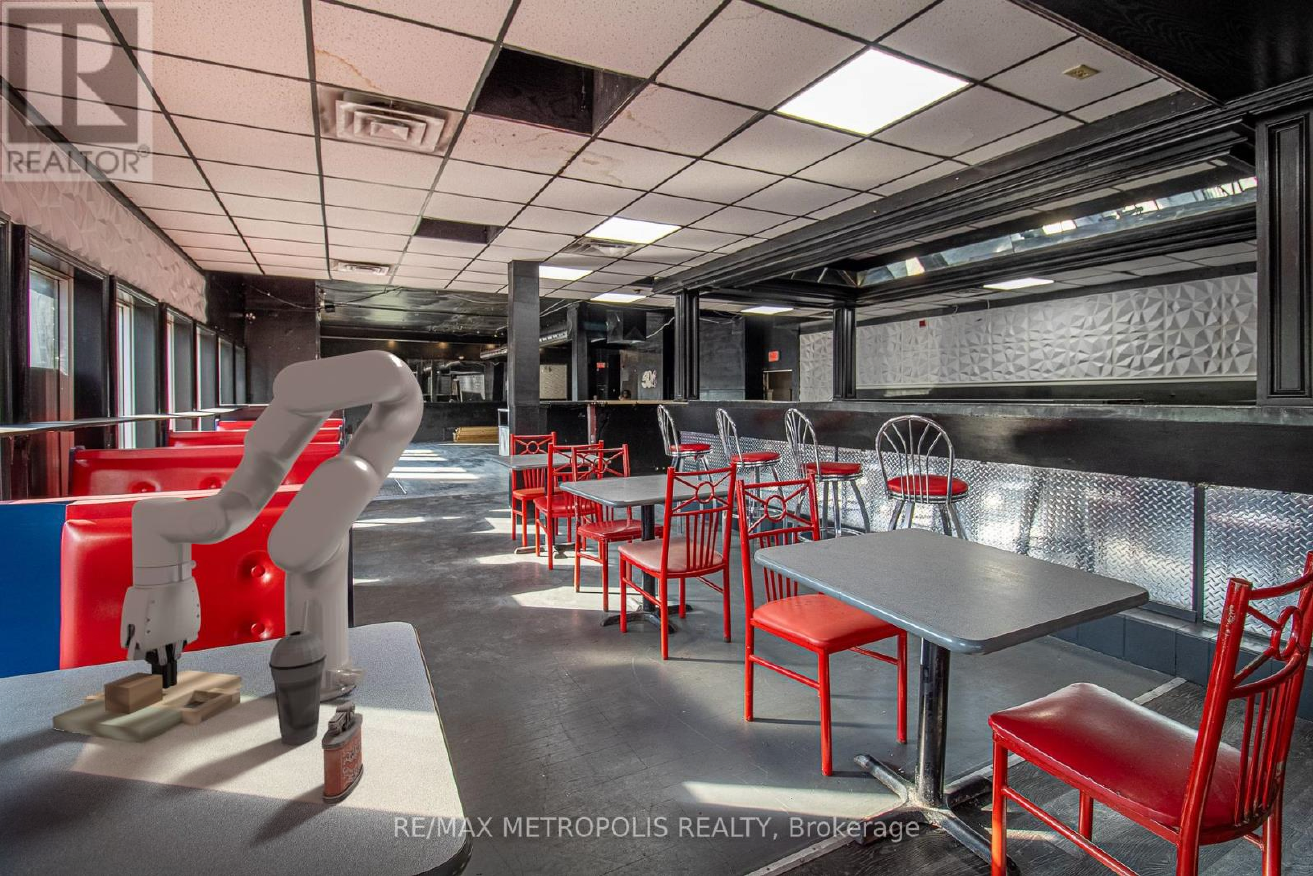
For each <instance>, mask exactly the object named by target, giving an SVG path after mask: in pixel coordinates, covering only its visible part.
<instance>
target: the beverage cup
mask: <svg viewBox="0 0 1313 876" xmlns="http://www.w3.org/2000/svg"><path fill="white" fill-rule="evenodd" d="M307 607H308V601H304V608H303V616H302V625H301V631H294V632H291V633H289V634H287V635H286V634H285V635H283V636H282V637H281V638H280V639H279V640H278V641H277V642H276V643H275V645H274V647H273V649H272V651H271V654H270V660H269V663H268V666H269V668H270V673H271V677H272V680H273V682H274V683H273V684H274V691H275V700H276V708H277V716H278V723H279V733H280V736H281V743H282V744H283V745H284V746H300V745H304V744H306V743H308V742H312V741H313V740H314V739H316V737H317V736H318V728H319V721H320V707H321V701H320V696H321V682H322V671H323V669H324V664H325V657H326V654H325V650H324V646H323V644H322V642H321V640H320V639H319V638H318V637H317V636H316V635H315V634H313V633H311V632H308V631H305V625H306V616H307Z"/></svg>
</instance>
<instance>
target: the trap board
mask: <svg viewBox="0 0 1313 876" xmlns="http://www.w3.org/2000/svg"><path fill="white" fill-rule="evenodd" d="M242 680H243V679H242V675H237V674H227V673H219V672H210V671H209V672H207V671H199V670H191V669H190V670H189V669H185V670H182V671H180V672H177V685H175V686H171V687H170V688H167V689H163V700H162V701H160V702H158V703H155V704H153V705H150V706H148V707H146V708H143V709H141V710H139V711H136V712H134V713H132V714H125V713H118V712H111V711H105V691H104V690H103V691H99V692H97V693H94V694H91V695H88V696H87V697H84V699H83V700H84V702H83V703H84V704H82V705H79V706H76V707H74V708H72V709H70V710H67V711H63V712H62V713H59V714H56V715H54V716H52V727H53V728H56V729H60V730H64V731H68V732H67V733H71V732H75V733H74V734H78V733H81V734H80V735H84V734H85V736H93V737H99V738H105V739H113V740H118V741H125V742H134V743H141V744H143V743H145V742H147V741H149V740H151V739H153V738H156V737H157V736H160V735H162V734H163V733H165V732H168V731H169V730H172V729H174V728H176V727H178V726H180V725H189V726H197V725H199V724H201V723H203V722H204V721H207V720H208V719H211V718H212V717H215V716H217V715H219V714H221V713H222V712H225V711H226V710H229V709H231V708H233V707H234V706H237V705H239V704H241V690H239V689H242V687H243V681H242ZM53 728H52V729H53ZM64 731H63V732H64Z"/></svg>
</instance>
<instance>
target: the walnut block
mask: <svg viewBox="0 0 1313 876" xmlns="http://www.w3.org/2000/svg"><path fill="white" fill-rule="evenodd" d="M103 686H104V687H103V688H104V690H103V691H105V711H111V712H118V713H125V714H132V713H134V712H136V711H139V710H141V709H143V708H146V707H148V706H150V705H153V704H155V703H158V702H160V701H162V700H163V686H162V675H156V674H152V673H146V672H140V671H138V672H135V673H132V674H130V675H126V676H124V677H122V678H119V679H117V680H113V681H111V682H108V683H106V684H104V685H103Z"/></svg>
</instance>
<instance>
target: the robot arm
mask: <svg viewBox="0 0 1313 876" xmlns="http://www.w3.org/2000/svg"><path fill="white" fill-rule="evenodd" d="M272 395H273V399H272V400H271V401H270V402H269V404H268V405H267V406H266V408H265V409H264V410H263V411H262V413H261V414H260V416H259V417H257V419H256V420H255V421H254V422H253V424H252V425H251V426H250V427H249V429H248V430H247V431H246V433H245V435H244V439H243V445H244V452H243V457H242V458H241V461H240V462H239V464H238V466H237V468H236V469H235V470H234V471H233V473H232V475H231V476H230V477H229V479H228V480H227V481H226V482H225V484H224V485H223V486H222V487H221V489H220V490H219V491H218V492H217V493H216V494H213V495H210V496H209V495H208V496H206V497H202V498H197V499H189V500H187V499H186V498H183V497H179V496H178V497H177V496H161V497H151V498H143V499H141V500H138V501H136V502H135V503H134V504H133V505H132V509H131V534H132V536H131V538H132V539H131V540H132V541H131V542H132V545H131V546H132V586H129V587H127V589H126V592H125V596H124V601H123V605H122V611H121V623H120V646H121V648H122V649H124V650H128V651H127V655H126V659H127V660H128V661H134V662H135V661H145V662H146V663H147V664H148V665H151V667H150V668H151V671H150V672H151V674H156V675H162V686H163V689H167V688H170V687H171V686H175V685H177V673H178V661H179V660H180V659H181V658H182V653H183V651H184V649H185V648H186V647H187V645H189V644H191V643H193V642H194V641H196V640H197V639H198V638H199V635H198V632H199V631H200V628H201V620H202V619H201V618H202V617H201V602H200V596H199V590H198V586H197V582H196V579H195V577H194V576H192V572H193V571H192V569H195V568H196V566H197V563H196V560H194V559H193V560H192V544H195V545H213V544H218V543H220V542H223V541H225V540H226V539H229V538H230V537H231V538H232V536H235V535H237V534H239V533H241V532H243V531H245V530H246V529H247V528H248V527H249V526H250V525H251V524H253V522H254V521H255V520H256V518H257V517H258V516H259V515H260V514H261V512H262V511H263V510H264V508H265V507H266V506H267V505H268V503H269V502H270V501H271V500H272V498H273V497H274V495H275V494H276V493H277V491H278V490H279V488H280V486H281V485H282V484H283V482H284V480H285V478H286V477H287V476H288V474H289V473H290V472H291V470H292V468H293V466H294V464H295V463H296V461H297V460H298V458H299V457H300V455H301V454H302V453H303V451H304V450H305V449H306V448H307V446H308V445H309V443H310V442H311V441H312V440H313V439H314V437H315V436H316V435H317V433H318V432H319V431H320V429H321V428H323V425H324V424H325V423H326V422H327V421H328V419H329V417H330V416H331V415H332V414H333V413H334V412H335V411H339V410H343V409H350V408H355V407H360V406H366V405H371V404H372V407H371V409H370V411H369V412H368V414H367V416H366V417H365V418H364V420H363V421H362V422H361V423H360V424H359V426H358V428H357V429H356V430H355V432H354V434H353V435H352V436H351V438H350V439H349V441H348V442H347V443H346V445H345V446H343V448H342V450H340V452H339V453H338V455H336V456H333V457H330V458H328V459H326V460H324V461H323V462H321V463H320V464H319V465H318V466H317V467H316V468H315V469H314V470H313V471H312V473H311V474H310V475H309V476H308V478H307V479H306V481H305V482H304V483H303V485H302V486H301V487H300V489H299V491H297V493H296V495H294V497H293V498H292V500H291V501H290V503H289V504H288V505H287V507H286V508H285V510H284V511H283V512H282V514H281V516H280V517H279V518H278V519H277V521H276V523H275V524H274V525H273V527H272V528H271V531H270V532H269V535H268V539H267V551H268V552H267V553H268V555H269V558H270V559H271V562H272V563H273V564H274V565H275V566H276V567H277V568H279V570H282V571H283V572H285V577H284V618H285V619H284V623H285V635H287V634H289V633H291V632H294V631H301V625H302V616H303V608H304V601H308V607H307V616H306V625H305V631H308V632H311V633H313V634H315V635H316V636H317V637H318V638H319V639H320V640H321V642H322V644H323V646H324V650H325V654H326V657H325V664H324V669H323V671H322V682H321V696H320V702H325V701H328V700H331V699H335V698H338V697H340V696H344V695H345V694H347V693H349V692H350V690H351V691H352V690H353V689H355V688H356V687H360V686H361V685H362V683H363V681H364V678H365V677H366V676H367V670H366V669H362V668H355V659H354V658H349V653H350V652H349V610H348V608H349V607H348V606H349V605H348V602H349V601H348V597H349V596H348V595H349V594H348V588H349V587H348V569H349V568H348V565H349V563H348V562H349V549H350V532H349V531H350V529H351V528H352V527H353V525H354V524H355V522H356V521H357V519H358V518H359V516H360V515H361V514H362V512H363V511H364V510H365V509H366V507H367V506H368V504H370V503H371V502H372V501H373V500H374V499H375V498H376V497H377V495H378V494H379V492H380V490H381V487H382V486H383V485H384V483H385V481H386V479H387V478H388V476H389V475H390V473H391V472H392V470H393V469H394V467H395V466H396V464H397V463H398V462H399V460H400V459H401V457H402V455H403V454H404V452H405V451H406V449H407V447H408V446H409V444H410V443H411V442H412V440H413V438H415V437H414V436H415V435H416V434H417V431H418V429H419V426H420V425H421V422H422V419H423V413H424V395H423V391H422V388H421V386H420V384H419V382H418V380H417V378H416V375H414V372H413V371H412V370H411V368H410V367H409V365H408V364H407V363H406V362H405V361H403V360H402V359H401V358H399V357H398V356H396V355H395V354H393V353H391V352H388V351H385V350H378V349H374V350H373V349H372V350H364V351H359V352H354V353H348V354H340V355H336V356H331V357H325V358H320V359H319V358H317V359H312V360H305V361H299V362H295V363H293V364H290V365H287V366H286V367H284V368H283V369H282V370H281V371H280V372H279V373H278V374H277V375H276V377H275V379H274V382H273V385H272ZM355 686H356V687H355ZM354 687H355V688H354ZM348 691H349V692H348ZM337 696H338V697H337Z"/></svg>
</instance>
